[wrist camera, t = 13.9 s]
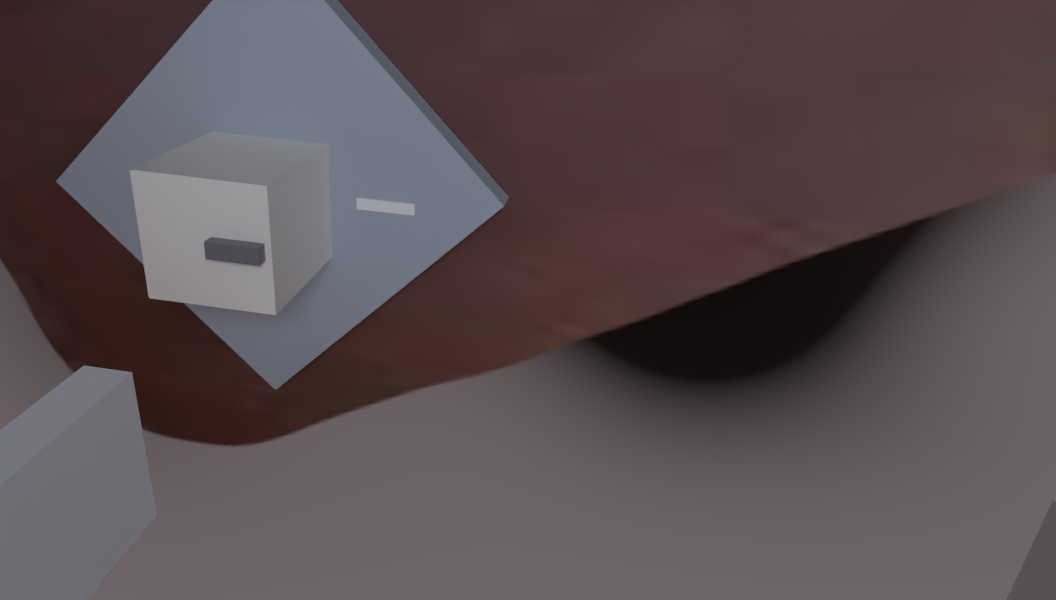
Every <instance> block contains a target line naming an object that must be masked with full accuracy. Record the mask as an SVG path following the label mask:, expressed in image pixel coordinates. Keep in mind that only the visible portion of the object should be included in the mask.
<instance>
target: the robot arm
mask: <svg viewBox="0 0 1056 600" xmlns="http://www.w3.org/2000/svg"><path fill="white" fill-rule="evenodd" d="M156 516H157V513H156V506H155V501H154V495H153V489H152V484H151V478H150V472H149V467H148V461H147V455H146V450H145V444H144V439H143V432H142V427H141V421H140V415H139V410H138V404H137V398H136V393H135V387H134V381H133V376H132V372H127V371H120V370H113V369H105V368H98V367H91V366H83V367H81V368H80V369H79V370H77V371H76V372H75V373H74V374H72V375H71V376H70V377H68V378H67V379H66V380H65V381H63V382H62V383H61V384H59V385H58V386H57V387H55V388H54V389H53V390H51V391H50V392H49V393H48V394H46V395H45V396H44V397H42V398H41V399H40V400H39V401H37V402H36V403H35V404H33V405H32V406H31V407H29V408H28V409H27V410H26V411H24V412H23V413H22V414H20V415H19V416H18V417H17V418H15V419H14V420H13V421H12V422H10V423H9V424H8V425H6V426H5V427H4V428H2V429H1V430H0V600H87V599H88V598H89V597H90V595H91V594H92V593H93V592H94V591H95V589H96V588H97V587H98V586H99V585H100V584H101V582H102V581H103V580H104V579H105V577H106V576H107V575H108V574H109V573H110V572H111V570H112V569H113V568H114V567H115V566H116V564H117V563H118V562H119V561H120V559H121V558H122V557H123V556H124V555H125V554H126V552H127V551H128V550H129V549H130V547H131V546H132V545H133V544H134V543H135V541H136V540H137V539H138V538H139V537H140V536H141V534H142V533H143V532H144V531H145V530H146V528H147V527H148V526H149V524H151V522H152V521H153V520H154V519H155V518H156ZM1007 600H1056V499H1053V502H1052V504H1051V506H1050V508H1049V510H1048V512H1047V514H1046V517H1045V519H1044V521H1043V523H1042V525H1041V527H1040V530H1039V532H1038V534H1037V536H1036V538H1035V540H1034V542H1033V545H1032V547H1031V549H1030V551H1029V553H1028V555H1027V558H1026V559H1025V562H1024V564H1023V566H1022V568H1021V570H1020V572H1019V575H1018V577H1017V579H1016V581H1015V583H1014V585H1013V587H1012V590H1011V592H1010V594H1009V596H1008V598H1007Z"/></svg>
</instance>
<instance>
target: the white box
mask: <svg viewBox="0 0 1056 600" xmlns="http://www.w3.org/2000/svg"><path fill="white" fill-rule="evenodd" d="M130 176H131V183H132V190H133V196H134V203H135V210H136V216H137V223H138V230H139V236H140V243H141V250H142V256H143V263H144V270H145V276H146V283H147V289H148V296H149V298H151V299H159V300H166V301H174V302H181V303H189V304H196V305H204V306H211V307H218V308H226V309H233V310H241V311H248V312H256V313H263V314H271V315H277V314H278V313H279V312H280V311H281V310H282V309H283V308H284V306H285V305H286V304H287V303H288V302H289V301H290V300H291V299H292V298H293V297H294V296H295V295H296V294H297V293H298V292H299V291H300V290H301V289H302V288H303V287H304V286H305V285H306V284H307V283H308V282H309V280H310V279H311V278H312V277H313V276H314V275H315V274H316V273H317V272H318V271H319V270H320V269H321V268H322V267H323V266H324V265H325V264H326V263H327V262H328V261H329V260H330V259H331V258H332V232H331V203H330V175H329V146H328V145H327V144H318V143H310V142H301V141H292V140H283V139H275V138H266V137H257V136H248V135H239V134H231V133H222V132H213V131H212V132H210V133H208V134H206V135H204V136H201V137H199V138H197V139H195V140H193V141H191V142H188V143H186V144H184V145H182V146H180V147H177V148H175V149H173V150H171V151H169V152H167V153H164V154H162V155H160V156H158V157H156V158H154V159H151V160H149V161H147V162H145V163H143V164H140V165H138V166H136V167H134V168H132V169H130Z"/></svg>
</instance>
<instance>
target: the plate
mask: <svg viewBox="0 0 1056 600" xmlns="http://www.w3.org/2000/svg"><path fill="white" fill-rule="evenodd" d="M212 131H213V132H222V133H231V134H239V135H248V136H257V137H266V138H275V139H283V140H292V141H301V142H310V143H318V144H327V145H328V146H329V175H330V203H331V232H332V258H331V259H330V260H329V261H328V262H327V263H326V264H325V265H324V266H323V267H322V268H321V269H320V270H319V271H318V272H317V273H316V274H315V275H314V276H313V277H312V278H311V279H310V280H309V282H308V283H307V284H306V285H305V286H304V287H303V288H302V289H301V290H300V291H299V292H298V293H297V294H296V295H295V296H294V297H293V298H292V299H291V300H290V301H289V302H288V303H287V304H286V305H285V306H284V308H283V309H282V310H281V311H280V312H279V313H278V314H277V315H271V314H263V313H256V312H248V311H241V310H233V309H226V308H218V307H211V306H204V305H196V304H189V303H184V304H185V305H186V306H188V307H189V308H190V309H191V310H192V311H193V312H194V313H195V314H196V315H197V316H198V317H199V318H200V319H201V320H202V321H203V322H204V323H205V324H206V325H208V326H209V327H210V328H211V329H212V330H213V331H214V332H215V333H216V334H217V335H218V336H219V337H220V338H221V339H222V340H223V341H224V342H225V343H226V344H228V345H229V346H230V347H231V348H232V349H233V350H234V351H235V352H236V353H237V354H238V355H239V356H240V357H241V358H242V359H243V360H244V361H245V362H246V363H248V364H249V365H250V366H251V367H252V368H253V369H254V370H255V371H256V372H257V373H258V374H259V375H260V376H261V377H262V378H263V379H264V380H265V381H266V382H268V383H269V384H270V385H271V386H272V387H273V388H274V389H275V390H276V389H278V388H279V387H280V386H281V385H282V384H284V383H285V382H286V381H287V380H289V379H290V378H291V377H292V376H294V375H295V374H296V373H297V372H299V371H300V370H301V369H302V368H304V367H305V366H306V365H307V364H309V363H310V362H311V361H312V360H314V359H315V358H316V357H317V356H319V355H320V354H321V353H322V352H324V351H325V350H326V349H327V348H328V347H330V346H331V345H332V344H333V343H335V342H336V341H337V340H338V339H340V338H341V337H342V336H343V335H345V334H346V333H347V332H348V331H350V330H351V329H352V328H353V327H355V326H356V325H357V324H358V323H360V322H361V321H362V320H363V319H365V318H366V317H367V316H368V315H370V314H371V313H372V312H373V311H374V310H376V309H377V308H378V307H379V306H381V305H382V304H383V303H384V302H386V301H387V300H388V299H389V298H391V297H392V296H393V295H394V294H396V293H397V292H398V291H399V290H401V289H402V288H403V287H404V286H406V285H407V284H408V283H409V282H411V281H412V280H413V279H414V278H416V277H417V276H418V275H419V274H420V273H422V272H423V271H424V270H425V269H427V268H428V267H429V266H430V265H432V264H433V263H434V262H435V261H437V260H438V259H439V258H440V257H442V256H443V255H444V254H445V253H447V252H448V251H449V250H450V249H452V248H453V247H454V246H455V245H457V244H458V243H459V242H460V241H462V240H463V239H464V238H465V237H466V236H468V235H469V234H470V233H471V232H473V231H474V230H475V229H476V228H478V227H479V226H480V225H481V224H483V223H484V222H485V221H486V220H488V219H489V218H490V217H491V216H493V215H494V214H495V213H496V212H498V211H499V210H500V209H501V208H503V207H504V205H505V204H506V202H507V200H508V198H509V197H508V196H507V194H506V193H505V192H504V191H503V190H502V189H501V187H500V186H499V185H498V184H497V183H496V182H495V181H494V179H493V178H492V177H491V176H490V175H489V174H488V173H487V171H486V170H485V169H484V168H483V167H482V166H481V164H480V163H479V162H478V161H477V160H476V159H475V158H474V156H473V155H472V154H471V153H470V152H469V151H468V150H467V148H466V147H465V146H464V145H463V144H462V143H461V141H460V140H459V139H458V138H457V137H456V136H455V135H454V133H453V132H452V131H451V130H450V129H449V128H448V127H447V125H446V124H445V123H444V122H443V121H442V120H441V118H440V117H439V116H438V115H437V114H436V113H435V112H434V110H433V109H432V108H431V107H430V106H429V105H428V103H427V102H426V101H425V100H424V99H423V98H422V97H421V95H420V94H419V93H418V92H417V91H416V90H415V89H414V87H413V86H412V85H411V84H410V83H409V82H408V80H407V79H406V78H405V77H404V76H403V75H402V74H401V72H400V71H399V70H398V69H397V68H396V67H395V66H394V64H393V63H392V62H391V61H390V60H389V59H388V57H387V56H386V55H385V54H384V53H383V52H382V51H381V49H380V48H379V47H378V46H377V45H376V44H375V43H374V41H373V40H372V39H371V38H370V37H369V36H368V34H367V33H366V32H365V31H364V30H363V29H362V28H361V26H360V25H359V24H358V23H357V22H356V21H355V19H354V18H353V17H352V16H351V15H350V14H349V13H348V11H347V10H346V9H345V8H344V7H343V6H342V5H341V3H340V2H339V1H338V0H213V1H212V2H211V3H210V4H209V5H208V6H207V7H206V9H205V10H204V11H203V12H202V13H201V14H200V16H199V17H198V18H197V19H196V20H195V21H194V22H193V24H192V25H191V26H190V27H189V28H188V29H187V31H186V32H185V33H184V34H183V35H182V36H181V37H180V39H179V40H178V41H177V42H176V43H175V44H174V46H173V47H172V48H171V49H170V50H169V51H168V52H167V54H166V55H165V56H164V57H163V58H162V59H161V61H160V62H159V63H158V64H157V65H156V66H155V68H154V69H153V70H152V71H151V72H150V73H149V74H148V76H147V77H146V78H145V79H144V80H143V81H142V83H141V84H140V85H139V86H138V87H137V88H136V89H135V91H134V92H133V93H132V94H131V95H130V96H129V98H128V99H127V100H126V101H125V102H124V103H123V104H122V106H121V107H120V108H119V109H118V110H117V111H116V113H115V114H114V115H113V116H112V117H111V118H110V119H109V121H108V122H107V123H106V124H105V125H104V126H103V128H102V129H101V130H100V131H99V132H98V133H97V135H96V136H95V137H94V138H93V139H92V140H91V141H90V143H89V144H88V145H87V146H86V147H85V148H84V150H83V151H82V152H81V153H80V154H79V155H78V156H77V158H76V159H75V160H74V161H73V162H72V163H71V165H70V166H69V167H68V168H67V169H66V170H65V171H64V173H63V174H62V175H61V176H60V177H59V178H58V180H57V181H56V182H57V183H58V184H59V185H60V186H61V187H62V188H63V189H64V190H65V191H67V192H68V193H69V194H70V195H71V196H72V197H73V198H74V199H75V200H76V201H77V202H78V203H79V204H80V205H81V206H82V207H83V208H84V209H85V210H87V211H88V212H89V213H90V214H91V215H92V216H93V217H94V218H95V219H96V220H97V221H98V222H99V223H100V224H101V225H102V226H103V227H104V228H105V229H107V230H108V231H109V232H110V233H111V234H112V235H113V236H114V237H115V238H116V239H117V240H118V241H119V242H120V243H121V244H122V245H123V246H124V247H125V248H127V249H128V250H129V251H130V252H131V253H132V254H133V255H134V256H135V257H136V258H137V259H138V260H139V261H140V262H141V263H142V264H143V265H144V263H143V256H142V250H141V243H140V236H139V230H138V223H137V216H136V210H135V203H134V196H133V190H132V183H131V176H130V169H132V168H134V167H136V166H138V165H140V164H143V163H145V162H147V161H149V160H151V159H154V158H156V157H158V156H160V155H162V154H164V153H167V152H169V151H171V150H173V149H175V148H177V147H180V146H182V145H184V144H186V143H188V142H191V141H193V140H195V139H197V138H199V137H201V136H204V135H206V134H208V133H210V132H212Z"/></svg>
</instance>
